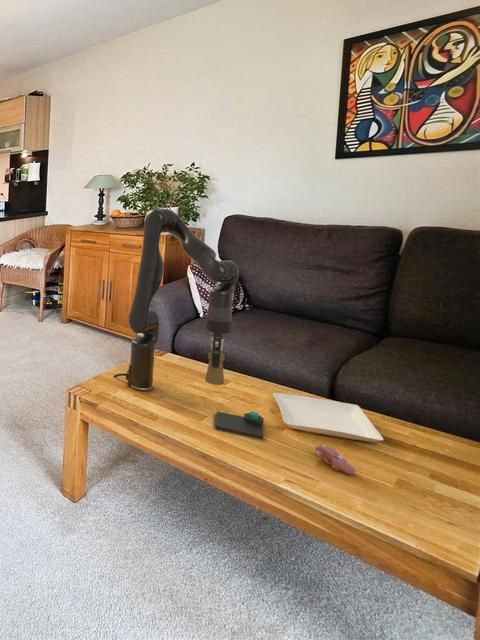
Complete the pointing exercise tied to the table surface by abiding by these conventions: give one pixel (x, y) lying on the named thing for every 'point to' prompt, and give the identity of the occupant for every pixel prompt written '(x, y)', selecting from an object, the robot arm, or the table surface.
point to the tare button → (253, 415)
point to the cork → (215, 370)
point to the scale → (240, 425)
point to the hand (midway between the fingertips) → (215, 364)
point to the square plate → (326, 417)
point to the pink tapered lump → (334, 459)
